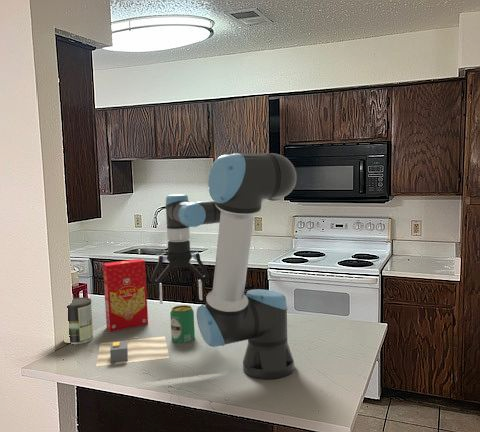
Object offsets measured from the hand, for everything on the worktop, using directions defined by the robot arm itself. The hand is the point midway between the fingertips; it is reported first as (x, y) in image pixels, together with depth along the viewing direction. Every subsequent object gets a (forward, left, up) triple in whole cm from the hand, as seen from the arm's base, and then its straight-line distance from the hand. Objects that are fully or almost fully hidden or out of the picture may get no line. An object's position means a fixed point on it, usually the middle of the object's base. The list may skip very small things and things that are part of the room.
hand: (181, 301), depth 166 cm
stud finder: (-11, +21, -13) cm, 27 cm away
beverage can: (0, 0, -15) cm, 15 cm away
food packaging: (+24, +19, -15) cm, 34 cm away
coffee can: (+14, +36, -15) cm, 41 cm away
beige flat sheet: (-6, +17, -14) cm, 23 cm away
